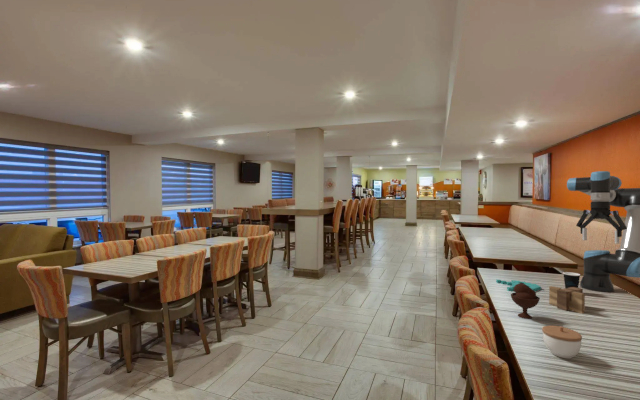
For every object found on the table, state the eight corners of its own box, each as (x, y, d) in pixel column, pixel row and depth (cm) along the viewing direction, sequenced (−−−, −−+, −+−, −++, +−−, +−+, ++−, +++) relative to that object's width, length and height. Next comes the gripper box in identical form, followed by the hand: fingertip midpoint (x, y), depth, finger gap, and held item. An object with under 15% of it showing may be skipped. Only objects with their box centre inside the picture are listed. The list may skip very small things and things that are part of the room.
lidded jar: (534, 347, 111) (534, 321, 111) (562, 346, 112) (562, 320, 112) (560, 362, 100) (560, 334, 100) (590, 361, 101) (590, 333, 101)
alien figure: (508, 291, 180) (547, 294, 176) (508, 288, 180) (547, 290, 176) (496, 282, 199) (530, 284, 195) (496, 279, 199) (530, 281, 195)
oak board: (552, 303, 158) (552, 286, 158) (584, 312, 145) (584, 293, 145) (549, 304, 157) (549, 286, 157) (581, 313, 144) (581, 294, 144)
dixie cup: (574, 291, 180) (575, 272, 180) (583, 295, 172) (583, 275, 172) (559, 290, 182) (559, 271, 182) (567, 294, 174) (567, 274, 174)
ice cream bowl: (531, 323, 132) (531, 288, 132) (505, 314, 142) (505, 282, 142) (544, 318, 137) (545, 285, 137) (519, 310, 147) (519, 279, 147)
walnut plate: (573, 304, 157) (573, 286, 157) (582, 306, 153) (582, 288, 153) (557, 308, 151) (557, 289, 151) (566, 310, 147) (566, 292, 147)
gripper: (568, 200, 170) (568, 239, 170) (628, 201, 147) (628, 245, 147) (576, 201, 173) (576, 238, 173) (636, 201, 150) (636, 244, 150)
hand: (600, 241), depth 160 cm, fingers open, 13 cm apart
